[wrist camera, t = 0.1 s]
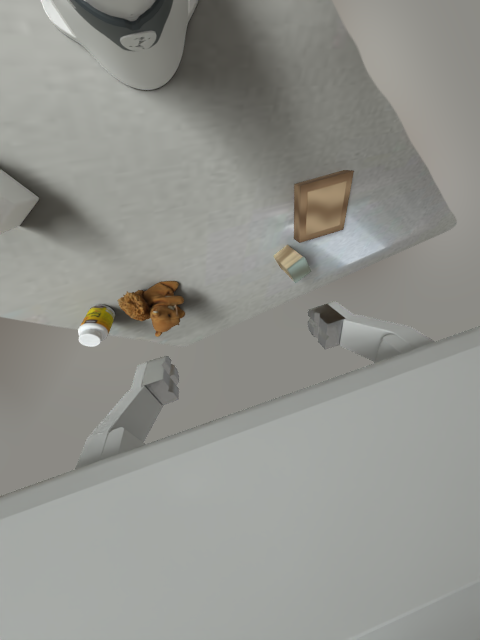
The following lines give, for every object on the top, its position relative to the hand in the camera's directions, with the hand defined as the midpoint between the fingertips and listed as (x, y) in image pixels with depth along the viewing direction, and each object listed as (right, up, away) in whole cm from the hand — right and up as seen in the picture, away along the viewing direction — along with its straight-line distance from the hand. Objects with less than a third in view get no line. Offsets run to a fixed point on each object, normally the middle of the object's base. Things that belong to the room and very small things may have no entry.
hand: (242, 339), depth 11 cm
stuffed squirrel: (-22, +8, +39) cm, 46 cm away
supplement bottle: (-35, +3, +38) cm, 52 cm away
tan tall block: (+12, +19, +41) cm, 47 cm away
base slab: (+19, +29, +35) cm, 49 cm away
